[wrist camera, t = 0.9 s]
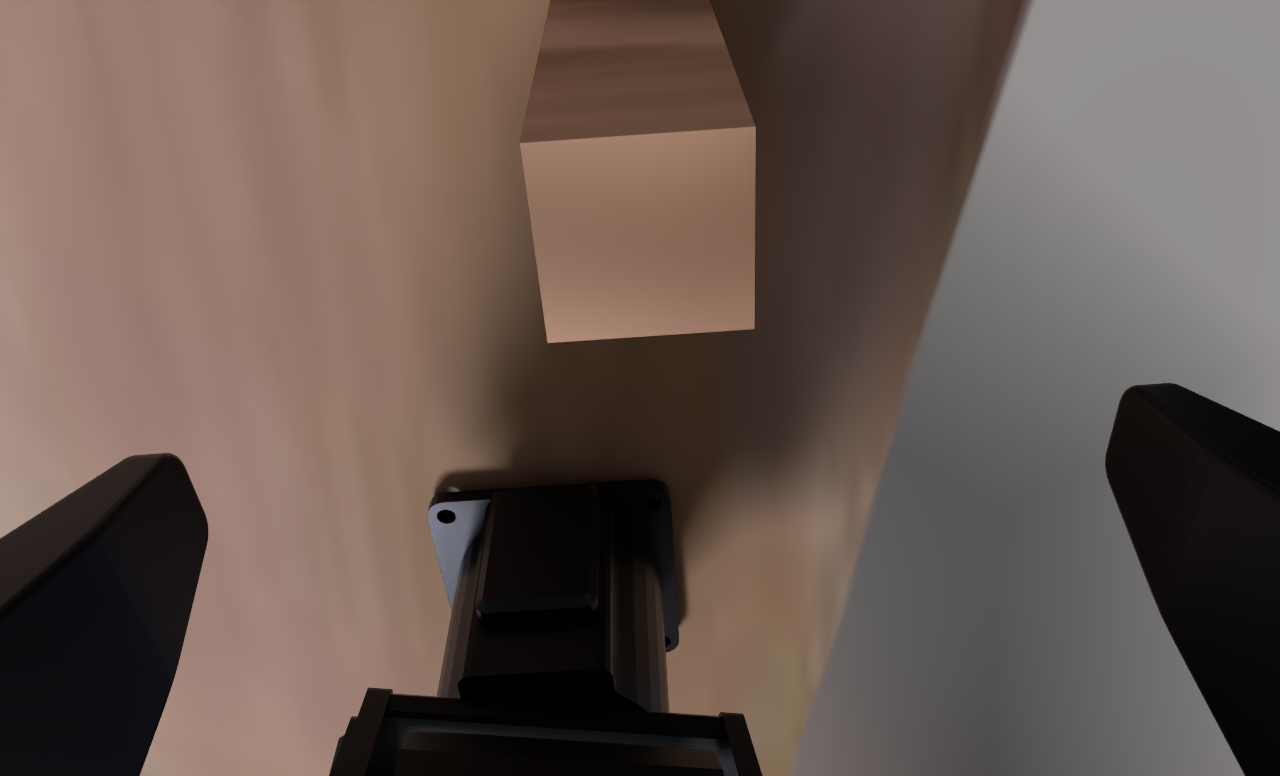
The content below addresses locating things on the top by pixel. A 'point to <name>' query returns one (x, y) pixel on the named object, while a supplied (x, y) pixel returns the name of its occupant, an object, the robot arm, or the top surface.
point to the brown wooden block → (639, 173)
